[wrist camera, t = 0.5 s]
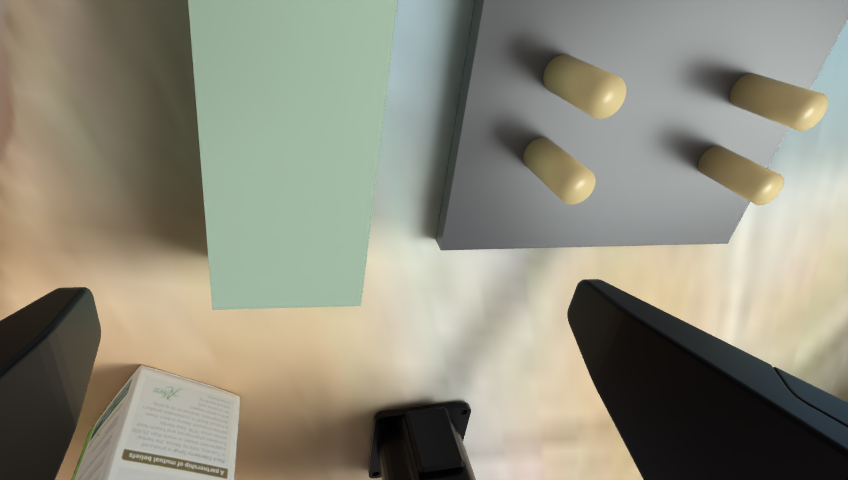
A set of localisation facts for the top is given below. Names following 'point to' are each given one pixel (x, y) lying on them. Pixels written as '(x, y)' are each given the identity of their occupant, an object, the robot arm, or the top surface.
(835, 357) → the top surface
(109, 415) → the syrup box
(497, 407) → the top surface
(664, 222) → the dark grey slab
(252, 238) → the board
